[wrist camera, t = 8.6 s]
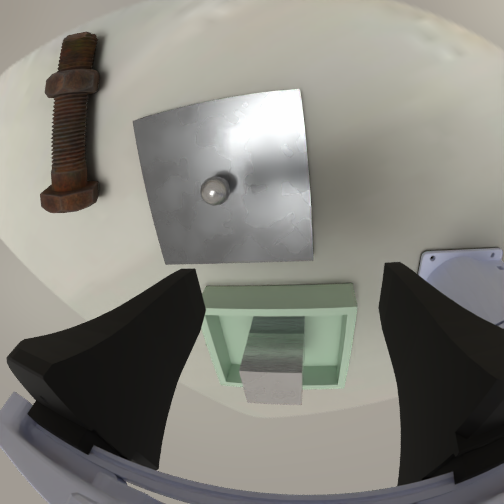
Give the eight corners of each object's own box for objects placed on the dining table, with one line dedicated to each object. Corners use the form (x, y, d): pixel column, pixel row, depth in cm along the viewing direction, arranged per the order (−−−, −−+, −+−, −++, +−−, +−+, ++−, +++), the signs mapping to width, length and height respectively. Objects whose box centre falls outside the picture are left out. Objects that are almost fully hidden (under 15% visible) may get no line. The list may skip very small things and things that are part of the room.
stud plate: (300, 90, 15) (299, 84, 13) (313, 254, 21) (313, 276, 18) (139, 120, 18) (114, 123, 15) (170, 258, 23) (153, 278, 20)
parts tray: (352, 283, 21) (357, 306, 19) (342, 364, 26) (344, 388, 23) (206, 286, 24) (194, 307, 21) (227, 363, 28) (220, 385, 26)
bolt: (113, 41, 16) (101, 192, 23) (64, 47, 15) (56, 196, 21) (103, 22, 12) (90, 213, 18) (44, 32, 10) (36, 217, 16)
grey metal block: (304, 348, 25) (301, 404, 19) (259, 348, 26) (247, 402, 20) (304, 314, 23) (301, 373, 17) (254, 314, 24) (238, 370, 18)
